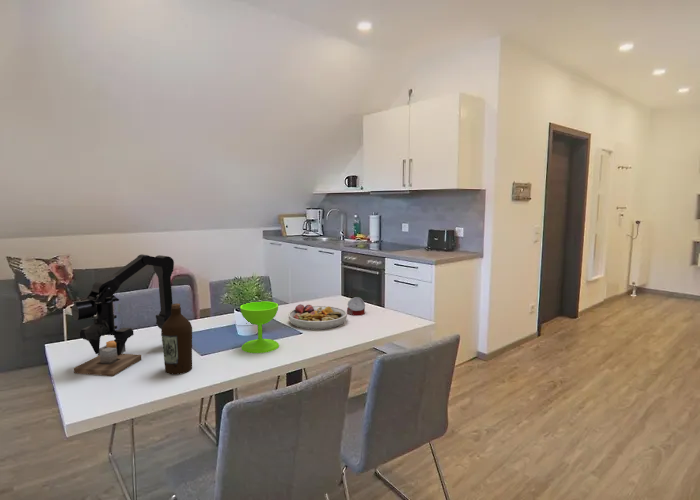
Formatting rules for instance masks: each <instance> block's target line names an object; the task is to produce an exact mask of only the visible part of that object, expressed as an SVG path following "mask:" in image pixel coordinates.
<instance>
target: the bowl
mask: <svg viewBox="0 0 700 500" xmlns="http://www.w3.org/2000/svg"><path fill="white" fill-rule="evenodd" d="M347 316H348V314H347V310H345V309H343V308H339V307H334V306H326V305H324V306H323V305H317V306H316V305H315V306H313V305H312V304H306V305H304V304H301V303H300V304H298V305H296V306H295V309H293V310H291V311H290V312H288V320H289V322H290V323H291V324H292V325H293V326H295V327H298V328H300V329H306V330H326V329H327V330H328V329H332V328H336V327H338V326H340V325H342V324H344V323H345V321H346V320H347Z"/></svg>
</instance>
